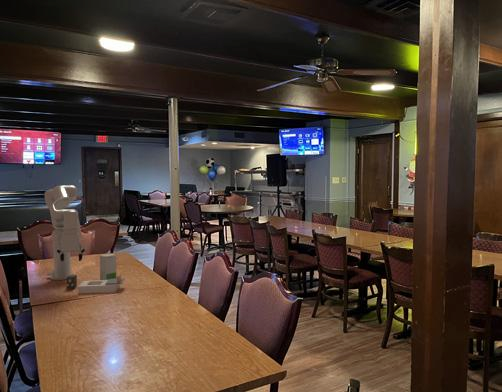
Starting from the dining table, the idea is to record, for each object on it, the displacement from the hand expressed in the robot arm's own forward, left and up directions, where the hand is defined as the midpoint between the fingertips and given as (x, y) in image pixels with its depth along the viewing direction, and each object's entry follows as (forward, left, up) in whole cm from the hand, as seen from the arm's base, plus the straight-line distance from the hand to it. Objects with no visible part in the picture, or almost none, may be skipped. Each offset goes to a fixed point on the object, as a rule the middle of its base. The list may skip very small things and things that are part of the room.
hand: (71, 260), depth 224 cm
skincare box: (+17, +17, -16) cm, 29 cm away
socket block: (+17, -6, -16) cm, 24 cm away
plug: (0, 0, -16) cm, 16 cm away
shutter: (+26, -6, -12) cm, 29 cm away
